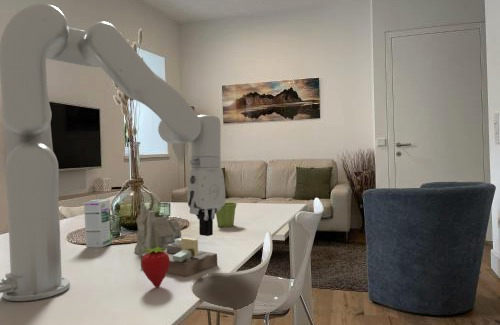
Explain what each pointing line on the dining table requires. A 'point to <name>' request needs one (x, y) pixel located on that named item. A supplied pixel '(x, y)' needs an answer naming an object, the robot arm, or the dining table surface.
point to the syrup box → (97, 223)
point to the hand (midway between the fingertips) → (206, 234)
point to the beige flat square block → (190, 245)
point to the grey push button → (178, 242)
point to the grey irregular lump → (154, 231)
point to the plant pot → (226, 215)
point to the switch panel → (189, 261)
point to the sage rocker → (182, 255)
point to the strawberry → (155, 265)
